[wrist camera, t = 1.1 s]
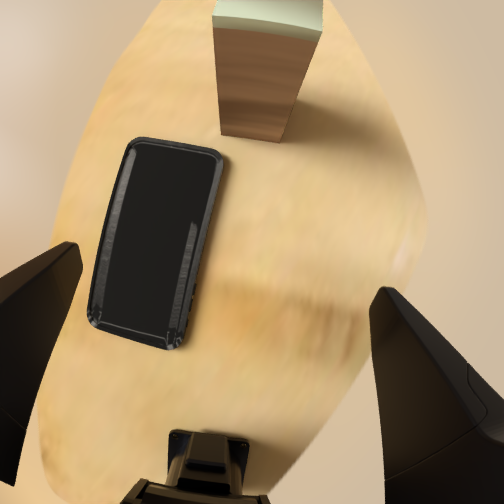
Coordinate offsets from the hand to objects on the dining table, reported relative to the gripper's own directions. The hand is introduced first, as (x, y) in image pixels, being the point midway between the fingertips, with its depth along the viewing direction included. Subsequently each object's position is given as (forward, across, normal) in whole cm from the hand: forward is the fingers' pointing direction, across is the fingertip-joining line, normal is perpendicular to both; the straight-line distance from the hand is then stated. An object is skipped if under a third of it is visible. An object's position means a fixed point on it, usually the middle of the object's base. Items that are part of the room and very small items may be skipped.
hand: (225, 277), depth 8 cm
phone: (+12, +6, +8) cm, 16 cm away
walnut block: (+18, 0, -1) cm, 18 cm away
